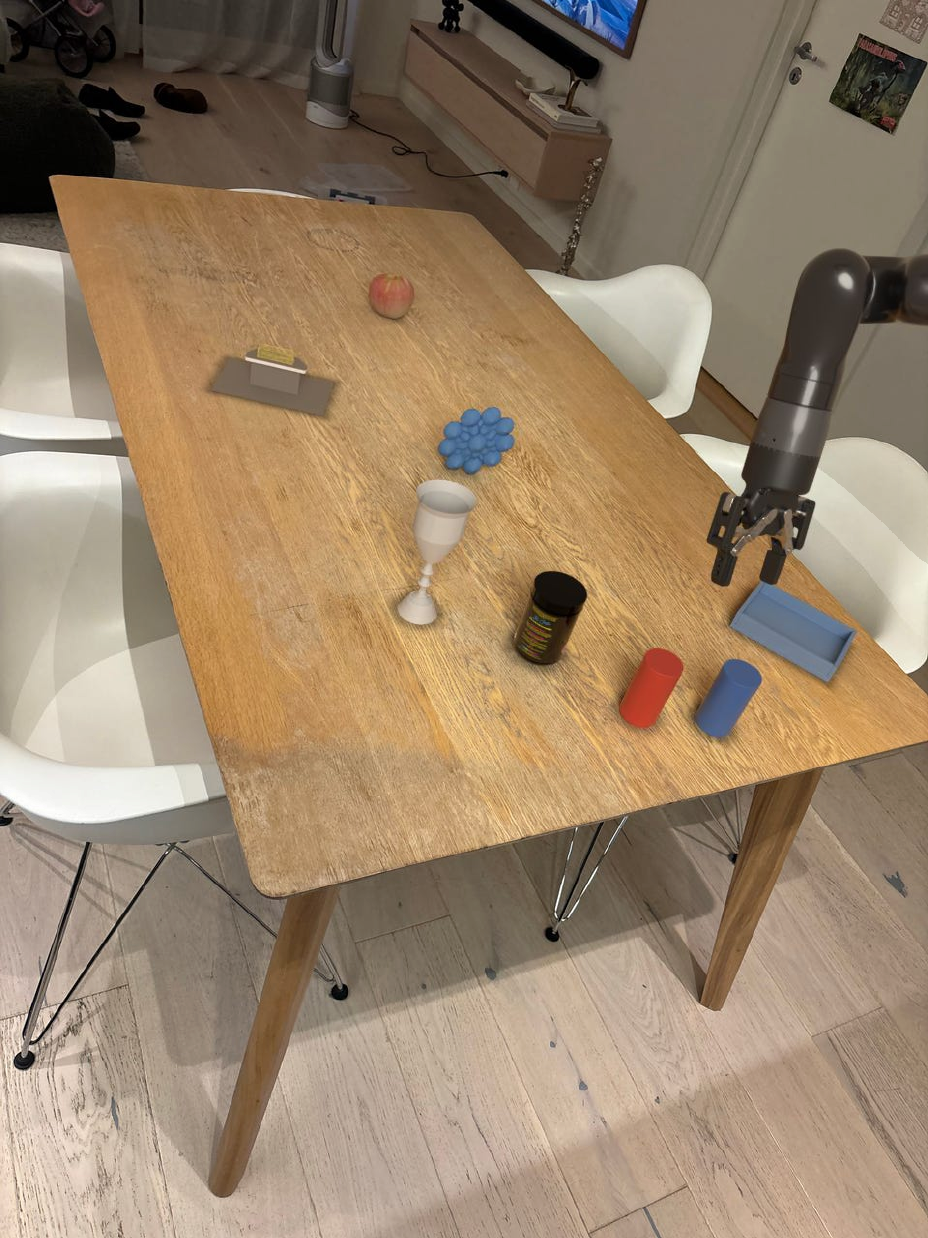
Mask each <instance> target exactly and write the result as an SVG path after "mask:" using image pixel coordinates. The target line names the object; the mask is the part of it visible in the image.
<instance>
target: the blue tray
mask: <svg viewBox="0 0 928 1238" xmlns="http://www.w3.org/2000/svg"><path fill="white" fill-rule="evenodd" d="M729 627H730V628H732V629H734V631H737V632H738V633H740V634H742V635H744V636H746V637H747V638H749V639H750V640H752V641H754V642H756V643H757V644H759V645H761V646H763V647H764V648H766V649H768V650H769V651H771V652H773V653H775V654H777V655H778V656H780V657H782V658H784V659H786V660H787V661H789V662H791V663H792V664H795V666H798V667H800V668H801V669H803V670H805V671H806V672H808V673H810V674H812V675H814V676H815V677H817V678H819V679H821V680H822V681H824V682H825V683H826V684H827V683H829V681H830V680H831V679H832V678H833V676H834V675H835V673H836V672H837V670H838V668H839V667H840V665H841V663H842V661H843V659H844V658H845V656H846V654H847V652H848V650H849V648H850V647H851V644H852V643H853V641H854V639H855V637H856V635H857V633H858V630H856V629H854V628H852V627H851V626H849V625H847V624H846V623H843V622H841V621H840V620H838V619H836V618H835V617H833V616H832V615H829V614H827V613H825V612H823V611H822V610H820V609H818V608H816V607H814V606H813V605H810V604H809V603H808V602H805V601H804V600H802V599H801V598H798V597H796V596H794V595H793V594H791V593H789V592H787V591H785V590H783V589H782V588H780V587H778V586H776V585H769V584H767V583H765V582H763V581H761V580H760V582H758V585H756V587H755V588H754V589H753V591H752V592H751V594H749V596H748V597H747V598H746V600H745V601H744V603H743V604H742V605H741V606H740V608H739V609H738V610H737V612H736V614H735V615H734V617H733V619H732V621H731V622H730V624H729Z"/></svg>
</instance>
